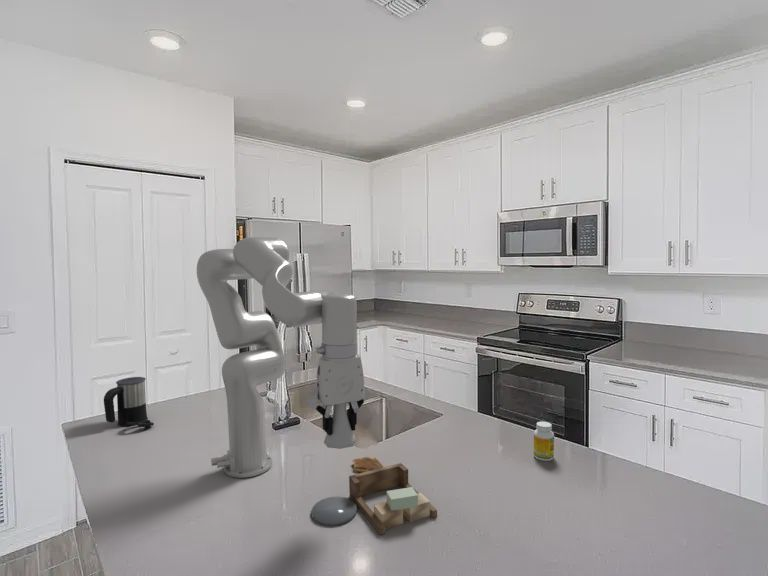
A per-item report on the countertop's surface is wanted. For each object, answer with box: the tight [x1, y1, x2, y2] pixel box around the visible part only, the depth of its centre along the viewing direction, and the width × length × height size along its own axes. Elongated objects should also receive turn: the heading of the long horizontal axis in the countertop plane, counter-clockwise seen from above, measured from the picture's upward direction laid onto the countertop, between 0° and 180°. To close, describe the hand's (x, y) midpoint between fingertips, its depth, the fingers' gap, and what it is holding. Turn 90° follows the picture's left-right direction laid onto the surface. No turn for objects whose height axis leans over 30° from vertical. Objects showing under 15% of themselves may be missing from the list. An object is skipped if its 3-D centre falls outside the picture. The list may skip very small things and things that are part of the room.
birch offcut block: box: [403, 492, 431, 523], centre depth 99 cm, size 5×4×4 cm
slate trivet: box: [311, 496, 358, 527], centre depth 101 cm, size 10×10×1 cm
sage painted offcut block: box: [386, 486, 418, 511], centre depth 98 cm, size 6×4×2 cm, turn 106°
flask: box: [323, 403, 357, 450], centre depth 100 cm, size 7×7×10 cm
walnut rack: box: [348, 462, 438, 536], centre depth 103 cm, size 14×17×5 cm
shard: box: [352, 456, 384, 473], centre depth 119 cm, size 11×8×2 cm
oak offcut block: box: [373, 500, 404, 530], centre depth 97 cm, size 5×4×4 cm
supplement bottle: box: [533, 421, 555, 462], centre depth 126 cm, size 5×5×10 cm
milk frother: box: [103, 376, 155, 429], centre depth 154 cm, size 14×16×15 cm
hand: (339, 429), depth 100 cm, fingers closed on flask, 4 cm apart
